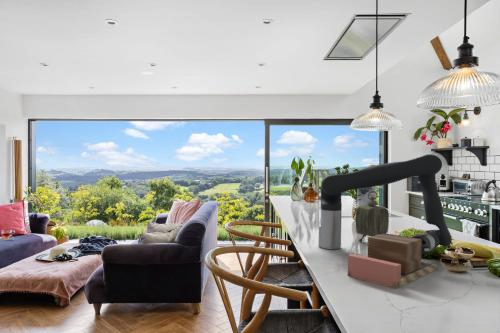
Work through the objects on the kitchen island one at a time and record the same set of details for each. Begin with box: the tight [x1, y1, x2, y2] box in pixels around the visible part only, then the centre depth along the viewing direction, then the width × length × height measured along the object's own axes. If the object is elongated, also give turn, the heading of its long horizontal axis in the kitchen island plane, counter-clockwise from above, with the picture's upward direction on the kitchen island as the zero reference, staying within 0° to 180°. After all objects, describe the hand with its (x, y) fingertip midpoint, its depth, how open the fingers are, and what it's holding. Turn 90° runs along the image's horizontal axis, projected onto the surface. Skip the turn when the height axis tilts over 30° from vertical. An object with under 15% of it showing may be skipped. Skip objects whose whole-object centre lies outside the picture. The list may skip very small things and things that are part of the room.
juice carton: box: [356, 186, 377, 209], centre depth 210 cm, size 9×10×27 cm
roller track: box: [347, 253, 437, 289], centre depth 133 cm, size 32×17×7 cm, turn 133°
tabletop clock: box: [355, 191, 390, 243], centre depth 183 cm, size 14×9×25 cm, turn 123°
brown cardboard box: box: [367, 233, 422, 274], centre depth 133 cm, size 12×14×10 cm
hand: (401, 250), depth 137 cm, fingers closed
